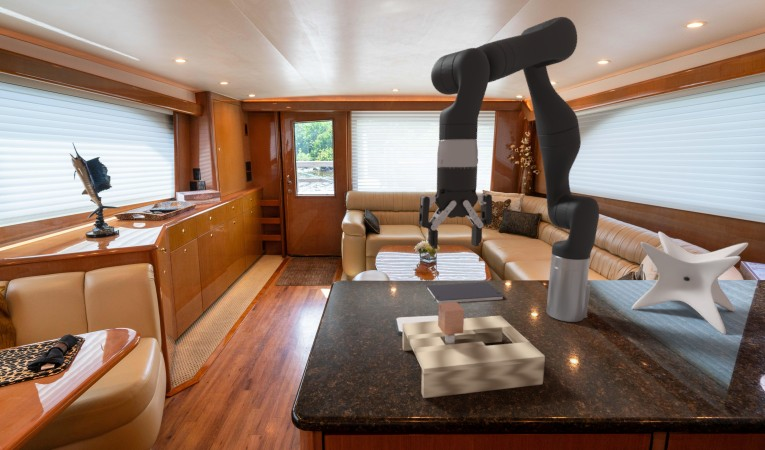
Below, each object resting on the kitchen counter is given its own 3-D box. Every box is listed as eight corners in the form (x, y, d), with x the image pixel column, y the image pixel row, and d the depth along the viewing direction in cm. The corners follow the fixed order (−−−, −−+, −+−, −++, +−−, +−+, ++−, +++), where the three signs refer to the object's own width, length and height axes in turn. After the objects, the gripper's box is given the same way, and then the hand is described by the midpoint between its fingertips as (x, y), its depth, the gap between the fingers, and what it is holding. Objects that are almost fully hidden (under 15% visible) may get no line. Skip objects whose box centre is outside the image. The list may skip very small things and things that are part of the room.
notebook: (486, 286, 125) (426, 289, 122) (487, 281, 124) (426, 285, 121) (504, 300, 112) (437, 305, 109) (504, 295, 112) (437, 300, 109)
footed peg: (455, 358, 80) (458, 300, 77) (464, 371, 75) (467, 310, 73) (434, 360, 79) (435, 302, 77) (441, 374, 74) (443, 312, 72)
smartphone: (397, 338, 90) (461, 335, 91) (397, 332, 90) (461, 329, 91) (394, 322, 99) (452, 319, 100) (394, 316, 98) (452, 313, 99)
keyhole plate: (498, 338, 89) (500, 315, 87) (542, 384, 71) (545, 356, 70) (402, 347, 85) (402, 323, 84) (423, 398, 67) (424, 368, 66)
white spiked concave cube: (630, 309, 105) (640, 241, 101) (649, 291, 118) (658, 231, 114) (725, 334, 90) (740, 256, 86) (734, 311, 103) (748, 242, 99)
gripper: (483, 163, 74) (480, 240, 77) (415, 164, 72) (415, 244, 75) (501, 164, 67) (496, 249, 70) (426, 165, 65) (425, 254, 68)
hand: (454, 246), depth 73 cm, fingers open, 8 cm apart
